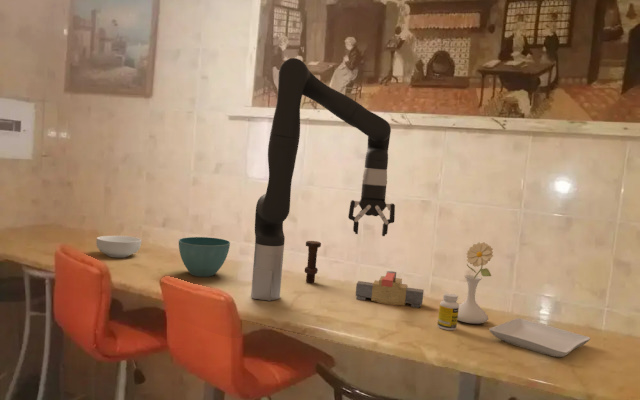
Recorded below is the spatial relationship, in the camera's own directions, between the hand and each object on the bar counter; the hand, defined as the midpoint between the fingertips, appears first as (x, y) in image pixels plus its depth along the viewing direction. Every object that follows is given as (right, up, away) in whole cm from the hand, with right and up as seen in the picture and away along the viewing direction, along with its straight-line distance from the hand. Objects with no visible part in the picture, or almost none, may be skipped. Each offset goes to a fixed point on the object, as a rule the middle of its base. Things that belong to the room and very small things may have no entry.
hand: (369, 234), depth 176 cm
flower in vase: (+30, -27, -5) cm, 40 cm away
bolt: (-19, -19, +29) cm, 40 cm away
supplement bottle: (+21, -26, -13) cm, 36 cm away
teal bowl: (-58, -16, +28) cm, 67 cm away
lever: (+7, -16, +4) cm, 18 cm away
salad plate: (+45, -29, -20) cm, 57 cm away
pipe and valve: (+7, -23, +11) cm, 27 cm away
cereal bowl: (-96, -12, +47) cm, 107 cm away
